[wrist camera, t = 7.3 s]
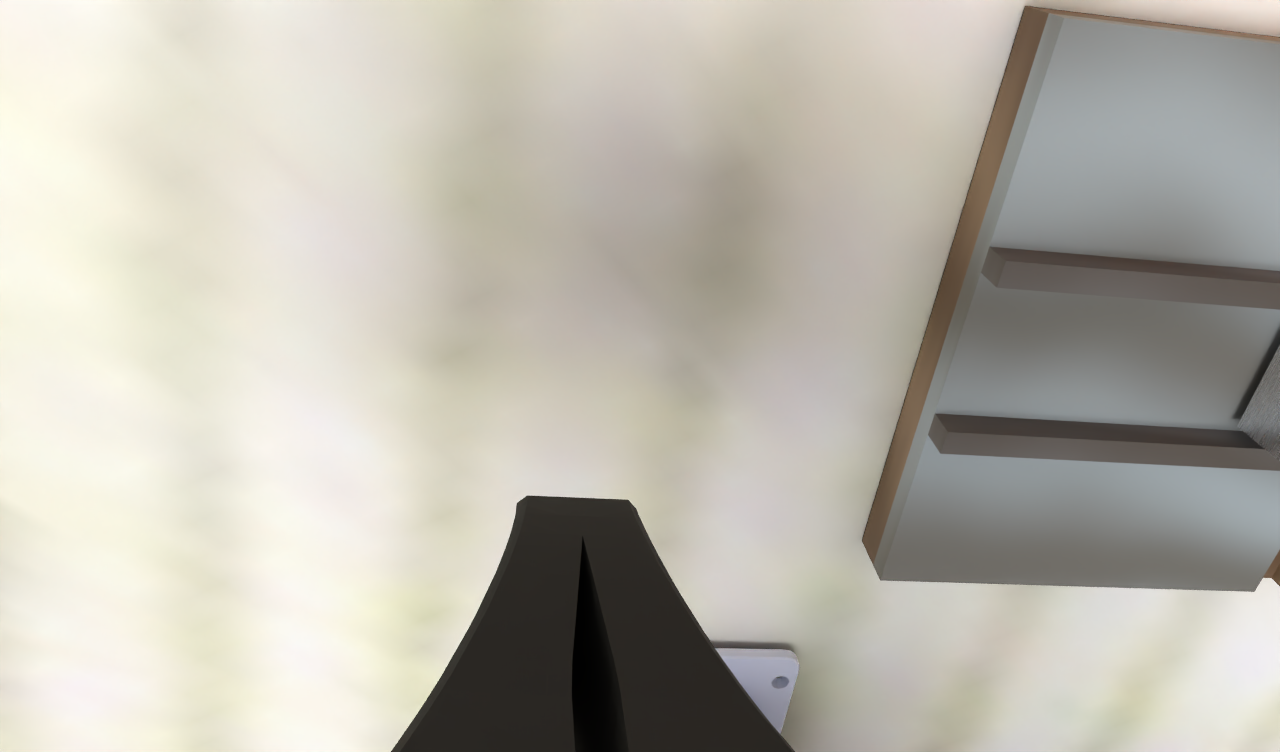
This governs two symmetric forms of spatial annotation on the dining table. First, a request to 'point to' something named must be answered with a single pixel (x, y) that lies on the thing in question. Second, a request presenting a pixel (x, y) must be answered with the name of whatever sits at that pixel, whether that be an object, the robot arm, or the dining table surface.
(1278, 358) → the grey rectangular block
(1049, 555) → the slide bolt latch board
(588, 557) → the robot arm
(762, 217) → the dining table surface
